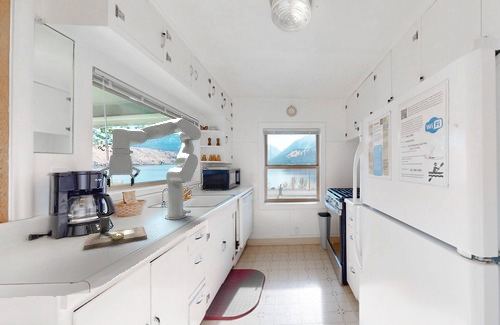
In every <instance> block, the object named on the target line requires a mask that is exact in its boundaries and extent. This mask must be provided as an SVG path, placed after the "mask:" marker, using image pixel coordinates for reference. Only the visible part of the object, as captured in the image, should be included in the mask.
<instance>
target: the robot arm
mask: <svg viewBox="0 0 500 325" xmlns="http://www.w3.org/2000/svg"><path fill="white" fill-rule="evenodd" d="M174 134H178V137H179V140H180V143H181V147H180V150H179V152H178V154H177V157H175V161H174V163H175V166H176V167H172V168H170V169H168V171H167V172H166V176H165V178H166V184H167V214H166V215H164V219H166V220H181V219H184V218H186V217H187V215H186V214H191V213H192V210H191V209H184V186H183V184H188V183H190V182H191V180H193V177H194V174H195V172H196V170H197V167H198V165H199V159H198V158H199V157H198V156H197V154H195V153H194V152H195V147H194V146H195V145H194V144H193V141H198V140H200V139H201V137H202V131H201V129H200V128H198V127H197V126H196V125H195V124H193V123H191V121H189V120H187V119H185V118H182V117H181V118H175V119H174V118H173V119H169V120H167V121H163V122H159V123H154V124H151V125H148V126H145V127H141V128H137V129H127V128H125V127H124V128H123V127H115V128H113V129H112V148H111V150H112V151H111V152H112V154H110V158H109V164H108V166H106V167H104V168H102V169H100V170H99V173H101V175H102V176H103V178H105V179H106V186H108V187H107V188H111V177H112V176H130V186H131V187H133V186H134V185H135V179H136V177H138V175H139V174H140V172H141V169H139V168H137V167H135V166H133V158H132V155H131V154H134V151H133V150H130V149H131V146H133V145H142V144H145V143H146V142H147V141H149V140H150V141H151V140H157V139H162V138H165V137H167V136H170V135H174ZM133 170H134V171H136V173H135V174H133ZM106 171H108V173H109V174H108V175H107V174H106V173H105V172H106Z"/></svg>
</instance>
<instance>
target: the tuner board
mask: <svg viewBox="0 0 500 325" xmlns="http://www.w3.org/2000/svg"><path fill="white" fill-rule="evenodd" d="M109 231H110V232H113V233H124V238H122V239H119V240H112V236H110V235H107V234H100V232H97V233H89V234H88V235H87V239H86V241H85V243H84V246H83V250H90V249H94V248H101V247H107V246H113V245H117V244H124V243H130V242H135V241H141V240H146V239H148V235H147V232H146V229H145V227H144V226H139V227H138V226H137V227H132V228H131V227H130V228H123V229H117V230H109Z"/></svg>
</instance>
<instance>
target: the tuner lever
mask: <svg viewBox="0 0 500 325" xmlns="http://www.w3.org/2000/svg"><path fill="white" fill-rule="evenodd" d="M110 221H111V220H110V216H102V217H99V233H100V234H107V235H110V236H112V240H119V239H122V238H124V233H113V232H110V231H111V230H110Z"/></svg>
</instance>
